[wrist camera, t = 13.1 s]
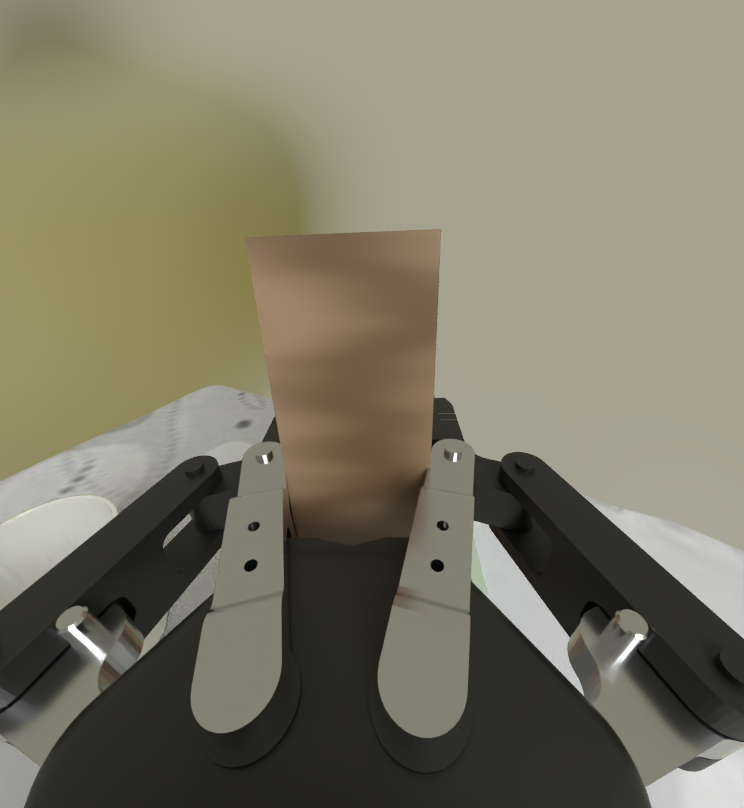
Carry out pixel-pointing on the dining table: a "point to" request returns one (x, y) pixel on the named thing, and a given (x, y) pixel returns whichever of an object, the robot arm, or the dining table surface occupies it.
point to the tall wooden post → (351, 374)
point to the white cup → (53, 544)
